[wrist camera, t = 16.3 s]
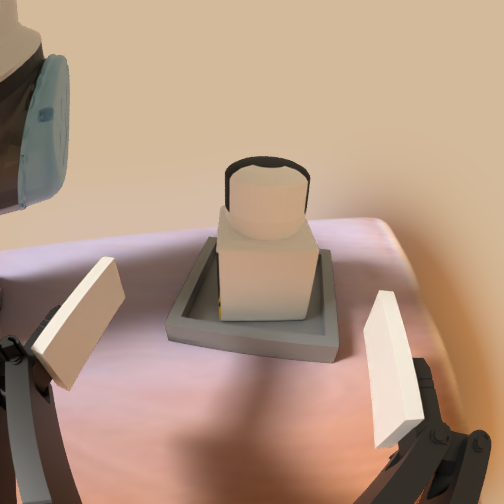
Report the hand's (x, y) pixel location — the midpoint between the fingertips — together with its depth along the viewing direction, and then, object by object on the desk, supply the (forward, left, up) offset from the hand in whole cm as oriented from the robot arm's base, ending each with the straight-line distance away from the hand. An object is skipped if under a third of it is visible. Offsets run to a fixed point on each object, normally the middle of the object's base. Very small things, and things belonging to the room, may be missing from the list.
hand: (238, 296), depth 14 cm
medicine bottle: (0, +10, -9) cm, 13 cm away
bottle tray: (0, +10, -9) cm, 13 cm away
